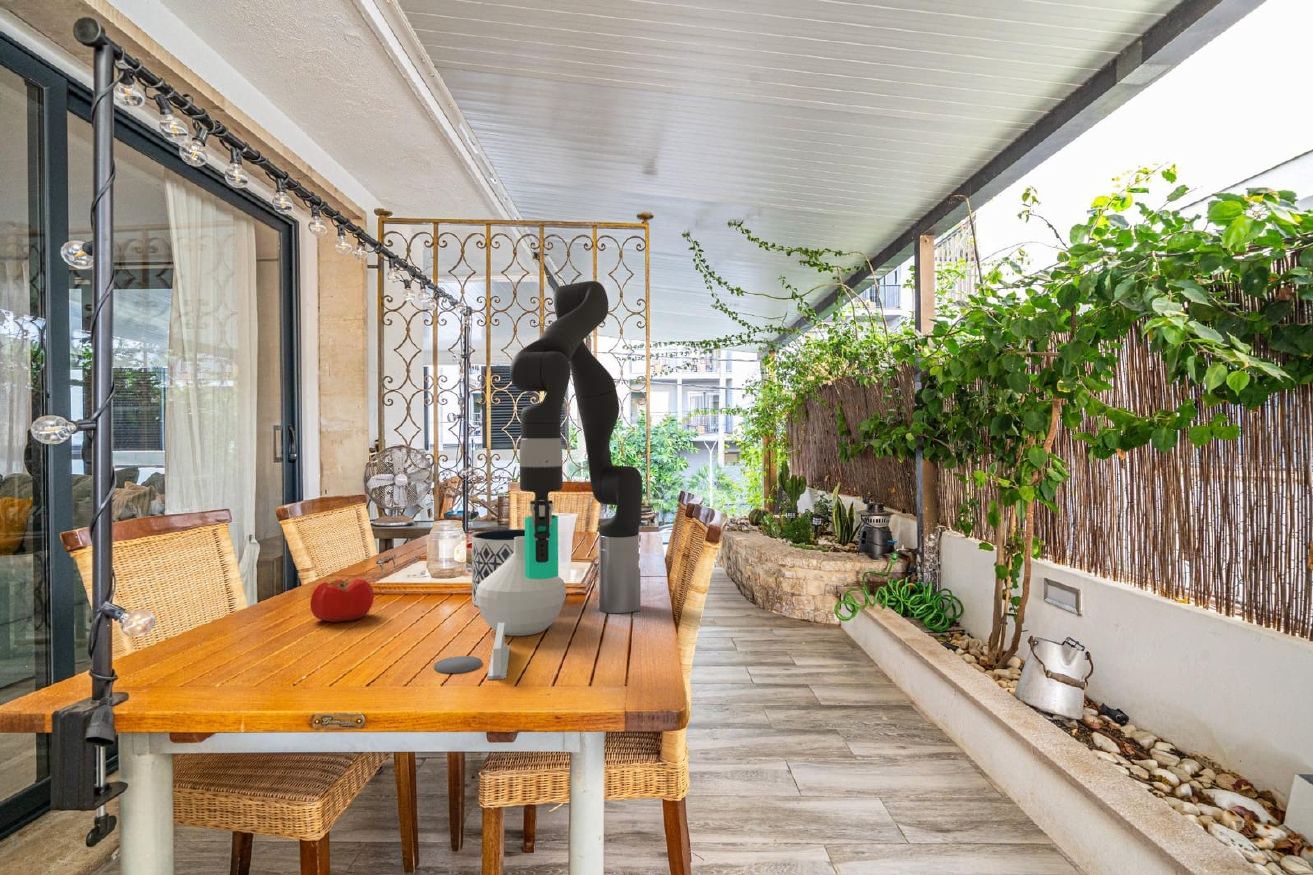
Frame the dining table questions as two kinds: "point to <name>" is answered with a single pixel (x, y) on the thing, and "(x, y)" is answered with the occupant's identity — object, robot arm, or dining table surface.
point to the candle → (531, 566)
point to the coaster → (458, 664)
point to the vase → (519, 597)
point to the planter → (490, 553)
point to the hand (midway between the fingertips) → (541, 558)
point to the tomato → (342, 600)
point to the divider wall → (499, 655)
